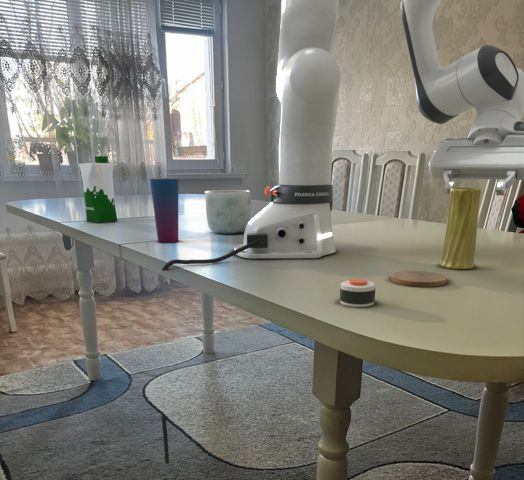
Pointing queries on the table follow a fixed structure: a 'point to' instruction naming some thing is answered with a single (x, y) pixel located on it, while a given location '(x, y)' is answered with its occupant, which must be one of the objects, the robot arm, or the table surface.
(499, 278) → the table surface
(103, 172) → the milk carton
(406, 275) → the coaster
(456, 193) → the vase
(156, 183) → the cup
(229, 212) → the planter
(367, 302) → the sushi
